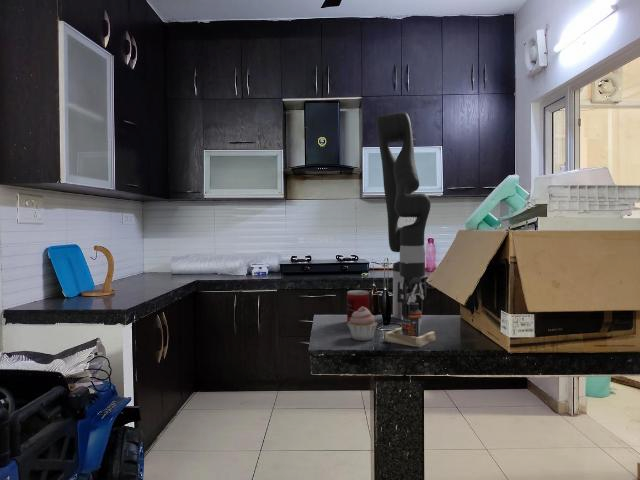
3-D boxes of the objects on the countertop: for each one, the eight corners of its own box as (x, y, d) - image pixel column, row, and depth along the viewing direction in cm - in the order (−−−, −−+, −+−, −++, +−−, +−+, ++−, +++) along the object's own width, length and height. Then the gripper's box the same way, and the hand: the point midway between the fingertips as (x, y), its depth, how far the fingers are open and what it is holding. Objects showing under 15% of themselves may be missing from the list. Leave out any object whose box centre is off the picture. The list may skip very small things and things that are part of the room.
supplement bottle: (399, 341, 150) (399, 304, 149) (403, 337, 155) (403, 300, 155) (419, 343, 148) (419, 305, 147) (422, 338, 153) (423, 301, 153)
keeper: (401, 334, 158) (401, 327, 158) (435, 340, 151) (435, 331, 151) (385, 341, 150) (385, 332, 150) (419, 347, 143) (419, 338, 143)
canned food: (372, 321, 179) (372, 290, 178) (363, 325, 172) (362, 293, 171) (353, 319, 183) (353, 289, 182) (343, 323, 176) (343, 292, 175)
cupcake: (342, 340, 151) (342, 307, 151) (353, 334, 160) (353, 302, 159) (372, 343, 148) (372, 309, 147) (381, 336, 156) (381, 304, 156)
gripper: (411, 258, 158) (412, 309, 159) (389, 261, 147) (389, 316, 148) (434, 259, 154) (434, 311, 154) (412, 263, 142) (412, 320, 143)
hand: (412, 314), depth 151 cm, fingers open, 8 cm apart
